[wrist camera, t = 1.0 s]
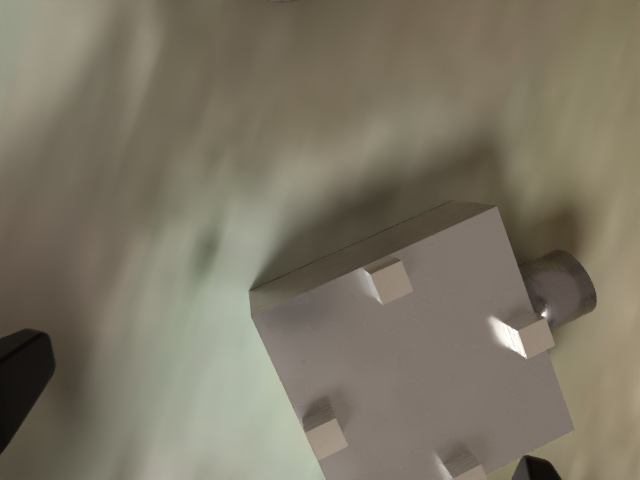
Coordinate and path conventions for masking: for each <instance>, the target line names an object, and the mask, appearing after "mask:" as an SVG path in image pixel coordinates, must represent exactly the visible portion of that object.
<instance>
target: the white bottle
mask: <svg viewBox="0 0 640 480" xmlns="http://www.w3.org/2000/svg"><path fill="white" fill-rule="evenodd" d="M269 1H276V2H289V1H295V0H269Z"/></svg>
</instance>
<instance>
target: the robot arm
mask: <svg viewBox="0 0 640 480" xmlns="http://www.w3.org/2000/svg"><path fill="white" fill-rule="evenodd" d="M55 368H56V361H55V356H54V352H53V347H52V343H51V339H50V336H49V335H48V334H47V333H46V332H43V331H39V330H35V329H28V328H27V329H23V330H21V331H18V332H16V333H13V334H11V335H8V336H6V337H3V338H1V339H0V455H1V453H2V452H3V451H4V449H5V448H6V447H7V445H8V444H9V443H10V441H11V440H12V438H13V437H14V435H15V434H16V432H17V431H18V429H19V428H20V426H21V424H22V423H23V421H24V420H25V418H26V417H27V415H28V413H29V412H30V410H31V409H32V407H33V406H34V404H35V403H36V401H37V399H38V398H39V396H40V395H41V393H42V392H43V390H44V388H45V387H46V385H47V384H48V382H49V381H50V379H51V378H52V376H53V374H54V371H55ZM512 480H562V479H561V477H560V476H559V474H558V473H557V471H556V470H555V468H554V467H553V465H552V464H551V463H550V462H549V461H547V460H545V459H541V458H537V457H533V456H529V455H525V456H523V457H522V458H521V460H520V462H519V464H518V466H517V469H516V471H515V473H514V475H513V477H512Z"/></svg>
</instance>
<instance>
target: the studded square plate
mask: <svg viewBox="0 0 640 480" xmlns="http://www.w3.org/2000/svg"><path fill="white" fill-rule="evenodd" d="M249 299H250V309H251V317H252V320H253V322H254V324H255V326H256V328H257V330H258V333H259V335H260V337H261V339H262V341H263V343H264V346H265V348H266V350H267V352H268V354H269V356H270V359H271V361H272V363H273V365H274V367H275V369H276V372H277V374H278V376H279V378H280V380H281V382H282V385H283V387H284V389H285V391H286V393H287V395H288V398H289V400H290V402H291V404H292V406H293V408H294V411H295V413H296V415H297V417H298V419H299V421H300V424H301V426H302V428H303V430H304V432H305V434H306V437H307V439H308V441H309V443H310V445H311V447H312V450H313V452H314V454H315V456H316V458H317V460H318V463H319V465H320V467H321V469H322V471H323V473H324V476H325V478H326V480H487V478H486V475H485V474H487V473H489V472H491V471H493V470H495V469H497V468H499V467H501V466H503V465H505V464H507V463H509V462H511V461H513V460H515V459H517V458H519V457H521V456H523V455H525V454H527V453H529V452H531V451H533V450H535V449H537V448H539V447H541V446H543V445H545V444H547V443H549V442H551V441H553V440H555V439H557V438H559V437H561V436H563V435H564V434H566V433H568V432H570V431H572V430H574V427H573V424H572V421H571V418H570V415H569V412H568V409H567V406H566V403H565V401H564V398H563V395H562V392H561V389H560V386H559V383H558V380H557V377H556V375H555V372H554V369H553V366H552V363H551V360H550V357H549V354H548V351H547V349H549V348H551V347H554V346H555V343H554V340H553V337H552V334H551V331H552V330H554V329H556V328H558V327H561V326H563V325H565V324H567V323H569V322H571V321H573V320H575V319H577V318H579V317H581V316H583V315H585V314H588V313H590V312H592V311H593V310H594V309H595V307H596V302H597V299H596V292H595V288H594V286H593V283H592V281H591V279H590V277H589V275H588V274H587V272H586V271H585V269H584V268H583V266H582V265H581V264H580V263H579V262H578V261H577V260H576V259H575V258H574V257H573V256H572V255H570V254H569V253H567V252H565V251H563V250H553V251H551V252H549V253H547V254H545V255H543V256H541V257H538V258H536V259H534V260H532V261H530V262H528V263H526V264H523V265H521V266H519V267H518V265H517V262H516V259H515V256H514V253H513V250H512V247H511V245H510V242H509V239H508V236H507V233H506V230H505V227H504V224H503V221H502V219H501V216H500V213H499V210H498V207H497V206H493V205H485V204H478V203H470V202H463V201H455V200H453V201H450V202H448V203H446V204H444V205H441V206H439V207H437V208H435V209H432V210H430V211H428V212H426V213H423V214H421V215H419V216H417V217H414V218H412V219H410V220H408V221H405V222H403V223H401V224H399V225H396V226H394V227H392V228H390V229H387V230H385V231H383V232H381V233H378V234H376V235H374V236H372V237H370V238H367V239H365V240H363V241H361V242H358V243H356V244H354V245H352V246H349V247H347V248H345V249H343V250H340V251H338V252H336V253H334V254H331V255H329V256H327V257H325V258H322V259H320V260H318V261H316V262H313V263H311V264H309V265H307V266H304V267H302V268H300V269H298V270H295V271H293V272H291V273H289V274H286V275H284V276H282V277H280V278H277V279H275V280H273V281H271V282H268V283H266V284H264V285H262V286H259V287H257V288H255V289H253V290H250V291H249Z"/></svg>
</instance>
